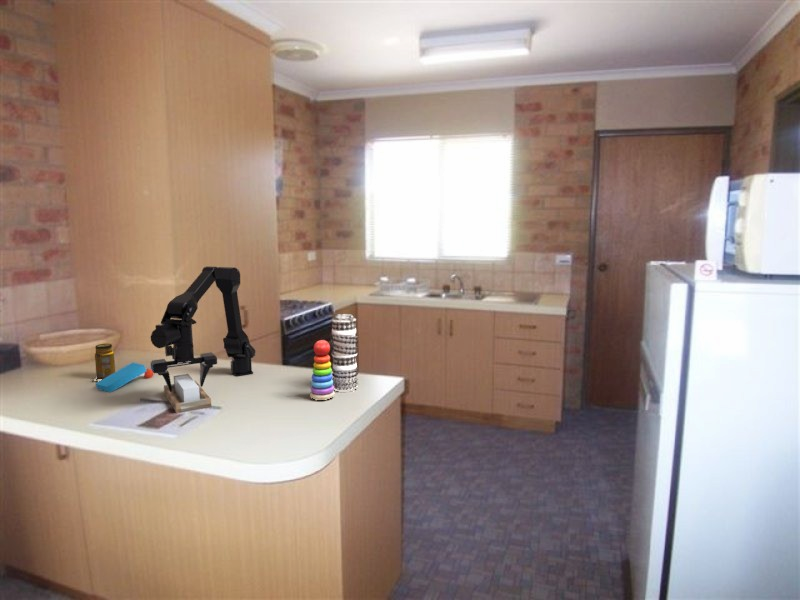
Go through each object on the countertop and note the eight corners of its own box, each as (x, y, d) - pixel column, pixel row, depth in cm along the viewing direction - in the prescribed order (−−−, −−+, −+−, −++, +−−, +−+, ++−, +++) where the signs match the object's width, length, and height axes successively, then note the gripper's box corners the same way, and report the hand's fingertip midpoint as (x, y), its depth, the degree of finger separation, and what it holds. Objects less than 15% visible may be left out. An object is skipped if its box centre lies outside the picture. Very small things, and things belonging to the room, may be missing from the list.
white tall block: (200, 402, 167) (199, 386, 166) (184, 405, 164) (183, 389, 164) (189, 388, 180) (188, 373, 179) (174, 390, 178) (173, 375, 177)
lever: (114, 404, 182) (159, 376, 195) (107, 386, 179) (153, 359, 193) (102, 401, 185) (147, 374, 199) (95, 383, 182) (141, 357, 196)
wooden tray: (164, 392, 179) (163, 385, 178) (195, 387, 184) (195, 380, 184) (176, 413, 161) (175, 405, 160) (211, 406, 166) (211, 398, 166)
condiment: (119, 374, 199) (116, 342, 197) (113, 381, 191) (109, 347, 189) (97, 375, 198) (94, 343, 196) (90, 382, 190) (86, 349, 188)
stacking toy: (305, 399, 172) (303, 341, 169) (318, 392, 179) (316, 336, 176) (327, 403, 169) (325, 344, 166) (339, 395, 176) (338, 338, 173)
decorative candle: (325, 388, 183) (323, 315, 179) (346, 382, 189) (345, 311, 185) (343, 395, 176) (342, 319, 172) (364, 388, 183) (363, 314, 179)
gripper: (207, 332, 181) (210, 377, 184) (146, 339, 171) (150, 387, 174) (216, 338, 172) (219, 386, 174) (151, 346, 162) (155, 397, 164)
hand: (186, 388), depth 172 cm, fingers open, 9 cm apart
